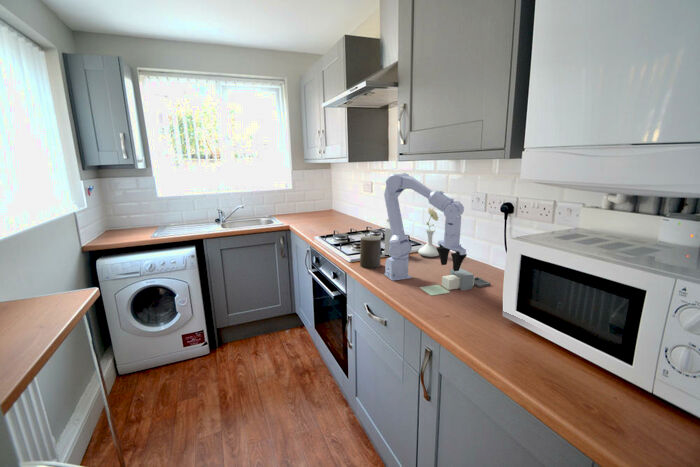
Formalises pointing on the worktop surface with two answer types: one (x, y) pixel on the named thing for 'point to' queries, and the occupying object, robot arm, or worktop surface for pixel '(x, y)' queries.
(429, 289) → the pad
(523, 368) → the worktop surface
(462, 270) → the tunnel
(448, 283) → the long ivory beam
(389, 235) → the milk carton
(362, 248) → the pillar candle
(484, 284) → the tray
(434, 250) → the flower in vase
